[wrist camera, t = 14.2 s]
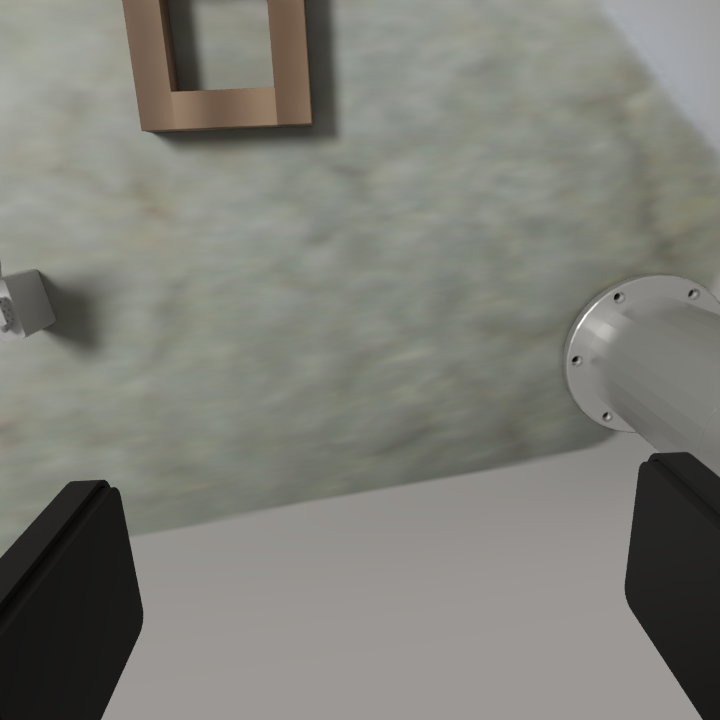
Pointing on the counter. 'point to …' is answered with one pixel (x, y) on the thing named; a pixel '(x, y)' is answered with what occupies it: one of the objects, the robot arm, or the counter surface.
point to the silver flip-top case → (23, 305)
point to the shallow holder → (218, 107)
